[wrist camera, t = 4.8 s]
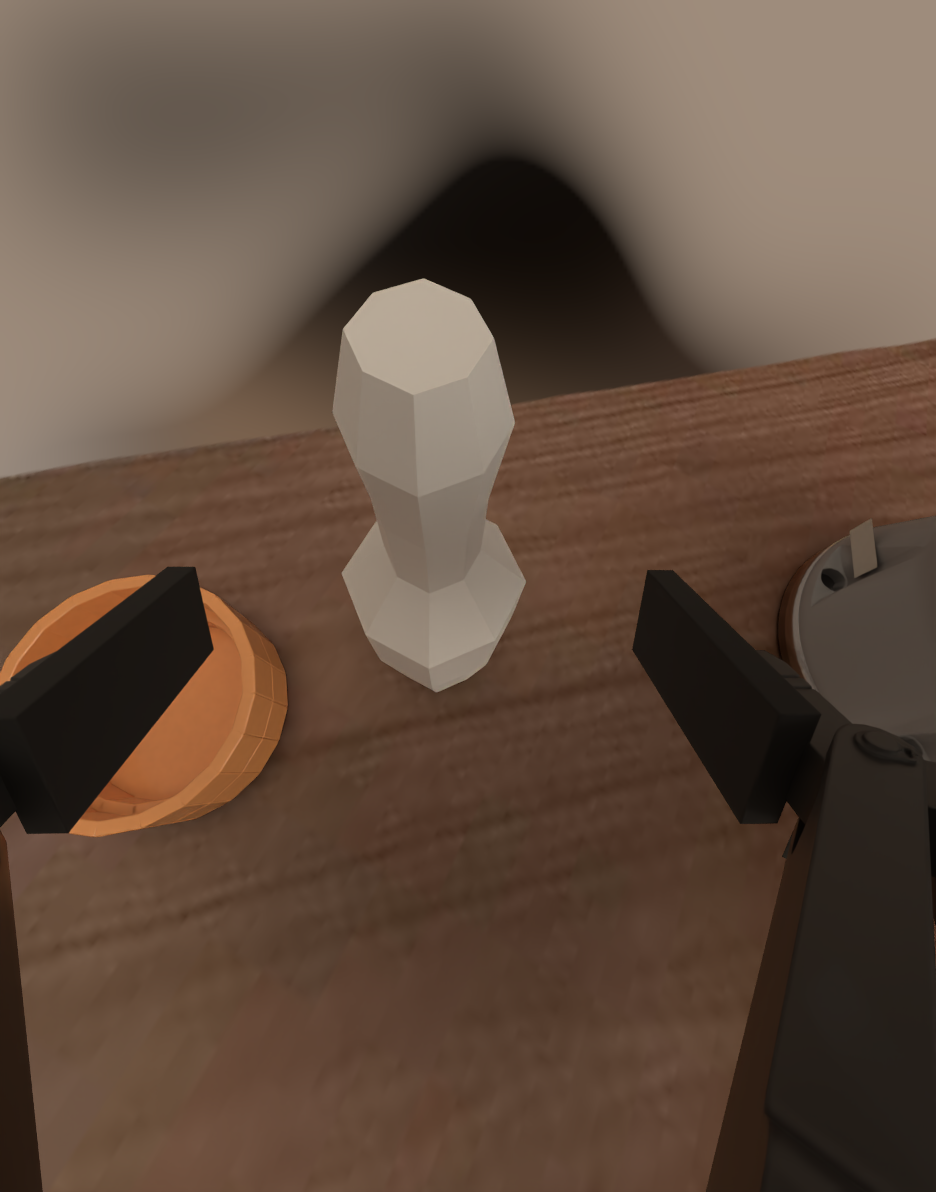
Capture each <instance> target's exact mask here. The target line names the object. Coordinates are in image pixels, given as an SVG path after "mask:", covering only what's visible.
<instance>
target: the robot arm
mask: <svg viewBox="0 0 936 1192" xmlns="http://www.w3.org/2000/svg"><path fill="white" fill-rule="evenodd" d="M778 635H779V646H780V653H781V657H782V660H781V659H779V658H777V657H775V656H774V655H772V654H770V653H768V652H766V651H765V650H755V649H754V648H753V647H752V646H751V645H750V644H748V643H747V642H746V641H745V640H744V639H743V638H742V637H741V636H740V635H739V634H738V633H737V632H736V631H735V630H734V629H733V628H732V627H731V626H730V625H729V624H728V623H727V622H726V621H725V620H724V619H723V618H722V617H721V616H720V615H718V614H717V613H716V612H715V611H714V610H713V609H712V608H711V607H710V606H709V605H708V604H707V603H706V602H705V601H704V600H703V599H702V598H701V597H700V596H699V595H698V594H697V593H696V592H695V591H694V590H693V589H692V588H691V587H690V586H688V585H687V584H686V583H685V582H684V581H683V580H682V579H681V578H680V577H679V576H678V575H677V574H676V573H675V572H674V571H673V570H647V575H646V580H645V586H644V591H643V596H642V601H641V607H640V612H639V617H638V623H637V628H636V633H635V638H634V644H633V649H632V650H633V652H634V653H635V655H636V657H637V658H638V660H639V661H640V663H641V665H642V666H643V668H644V669H645V671H646V673H647V674H648V676H649V677H650V679H651V681H652V682H653V684H654V686H655V687H656V689H657V690H658V692H659V694H660V695H661V697H662V698H663V700H664V702H665V703H666V705H667V707H668V708H669V710H670V711H671V713H672V715H673V716H674V718H675V719H676V721H677V723H678V724H679V726H680V727H681V729H682V731H683V732H684V734H685V736H686V737H687V739H688V740H689V742H690V744H691V745H692V747H693V748H694V750H695V752H696V753H697V755H698V756H699V758H700V760H701V761H702V763H703V765H704V766H705V768H706V769H707V771H708V773H709V774H710V776H711V777H712V779H713V781H714V782H715V784H716V786H717V787H718V789H719V790H720V792H721V794H722V795H723V797H724V798H725V800H726V802H727V803H728V805H729V806H730V808H731V810H732V811H733V813H734V815H735V816H736V818H737V819H738V821H739V823H740V824H767V823H778V820H779V818H780V816H781V813H782V811H783V808H784V806H785V803H786V801H787V802H788V803H789V805H790V806H791V807H792V808H793V810H794V811H795V812H796V814H797V815H798V816H799V818H798V821H797V823H796V825H795V828H794V830H793V832H792V835H791V837H790V839H789V842H788V844H787V846H786V849H785V851H784V853H783V856H782V857H784V858H786V863H785V867H784V871H783V875H782V879H781V884H780V888H779V892H778V896H777V900H776V904H775V908H774V912H773V917H772V921H771V925H770V929H769V933H768V937H767V941H766V945H765V950H764V954H763V958H762V962H761V966H760V970H759V974H758V978H757V983H756V987H755V991H754V995H753V999H752V1003H751V1007H750V1012H749V1016H748V1020H747V1024H746V1028H745V1032H744V1036H743V1040H742V1045H741V1049H740V1053H739V1057H738V1061H737V1065H736V1069H735V1073H734V1078H733V1082H732V1086H731V1090H730V1094H729V1098H728V1102H727V1106H726V1111H725V1115H724V1119H723V1123H722V1127H721V1131H720V1135H719V1139H718V1144H717V1148H716V1152H715V1156H714V1160H713V1164H712V1168H711V1173H710V1177H709V1181H708V1185H707V1189H706V1192H936V964H935V944H934V924H933V919H934V921H935V924H936V516H931V517H926V518H921V519H916V520H910V521H905V522H900V523H895V524H890V525H884V526H879V527H874V528H873V525H872V518H871V519H869V520H867V521H866V522H864V523H862V524H861V525H859V526H857V527H856V528H854V529H852V530H851V531H850V535H848V536H846V537H843V538H842V539H840V540H838V541H837V542H835V543H833V544H832V545H830V546H828V547H827V548H825V549H823V550H822V551H820V552H818V553H817V554H815V555H814V556H812V557H811V558H810V559H809V560H807V561H806V562H805V563H804V564H803V565H802V566H801V567H800V568H799V570H798V571H797V572H796V573H795V575H794V576H793V578H792V579H791V581H790V583H789V584H788V587H787V589H786V591H785V594H784V596H783V600H782V603H781V607H780V613H779V623H778ZM213 650H214V647H213V643H212V639H211V634H210V630H209V625H208V621H207V617H206V612H205V608H204V604H203V599H202V595H201V590H200V586H199V582H198V577H197V573H196V568H195V567H167V568H165V569H164V570H163V571H162V572H160V573H159V574H158V575H156V576H155V577H154V578H152V579H151V580H150V581H148V582H147V583H146V584H144V585H143V586H142V587H140V588H139V589H138V590H136V591H135V592H134V593H133V594H131V595H130V596H129V597H127V598H126V599H125V600H123V601H122V602H121V603H119V604H118V605H117V606H115V607H114V608H113V609H111V610H110V611H109V612H107V613H106V614H105V615H104V616H102V617H101V618H100V619H98V620H97V621H96V622H94V623H93V624H92V625H90V626H89V627H88V628H86V629H85V630H84V631H82V632H81V633H80V634H79V635H77V636H76V637H75V638H73V639H72V640H71V641H69V642H68V643H67V644H65V645H64V646H63V647H61V648H60V649H59V650H57V651H56V652H53V653H51V654H49V655H47V656H45V657H43V658H41V659H39V660H37V661H35V662H32V663H30V664H29V665H27V666H26V667H25V668H23V669H22V670H21V671H19V672H18V673H17V674H15V675H14V676H13V677H11V678H10V681H6V682H4V683H3V684H2V685H0V827H1V826H2V825H3V824H4V823H5V822H6V821H7V819H8V818H9V817H10V816H11V815H12V814H13V813H14V812H15V811H16V813H17V815H18V817H19V819H20V821H21V823H22V825H23V827H24V829H25V831H26V833H27V834H43V833H69V832H70V831H71V829H72V828H73V827H74V826H75V824H76V823H77V822H78V820H79V819H80V818H81V817H82V815H83V814H84V813H85V812H86V810H87V809H88V808H89V807H90V805H91V804H92V803H93V802H94V800H95V799H96V798H97V797H98V795H99V794H100V793H101V791H102V790H103V789H104V788H105V786H106V785H107V784H108V783H109V781H110V780H111V779H112V778H113V776H114V775H115V774H116V773H117V771H118V770H119V769H120V768H121V766H122V765H123V764H124V762H125V761H126V760H127V759H128V757H129V756H130V755H131V754H132V752H133V751H134V750H135V749H136V747H137V746H138V745H139V744H140V742H141V741H142V740H143V738H144V737H145V736H146V735H147V733H148V732H149V731H150V730H151V728H152V727H153V726H154V725H155V723H156V722H157V721H158V720H159V718H160V717H161V716H162V715H163V713H164V712H165V711H166V709H167V708H168V707H169V706H170V704H171V703H172V702H173V701H174V699H175V698H176V697H177V696H178V694H179V693H180V692H181V691H182V689H183V688H184V687H185V686H186V684H187V683H188V682H189V680H190V679H191V678H192V677H193V675H194V674H195V673H196V672H197V670H198V669H199V668H200V667H201V665H202V664H203V663H204V662H205V660H206V659H207V658H208V656H209V655H210V654H211V653H212V651H213ZM0 1192H43V1190H42V1180H41V1170H40V1161H39V1151H38V1142H37V1132H36V1122H35V1113H34V1103H33V1093H32V1084H31V1074H30V1064H29V1055H28V1045H27V1035H26V1026H25V1016H24V1007H23V997H22V987H21V978H20V968H19V958H18V949H17V939H16V929H15V920H14V910H13V900H12V891H11V881H10V871H9V862H8V852H7V843H6V840H5V838H4V836H3V835H2V833H1V831H0Z"/></svg>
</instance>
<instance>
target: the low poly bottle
mask: <svg viewBox="0 0 936 1192" xmlns="http://www.w3.org/2000/svg"><path fill="white" fill-rule="evenodd" d="M332 413H333V415H334V417H335V420H336V422H337V424H338V427H339V429H340V431H341V434H342V436H343V438H344V441H345V443H346V445H347V448H348V450H349V452H350V455H351V457H352V459H353V462H354V464H355V466H356V468H357V471H358V473H359V475H360V477H361V479H362V481H363V483H364V486H365V488H366V490H367V492H368V494H369V496H370V498H371V501H372V504H373V508H374V512H375V515H376V519H377V521H376V522H375V524H374V525H373V527H372V528H371V530H370V531H369V533H368V534H367V536H366V537H365V539H364V540H363V542H362V543H361V545H360V546H359V548H358V549H357V551H356V552H355V554H354V555H353V557H352V558H351V560H350V561H349V563H348V564H347V566H346V567H345V569H344V570H343V572H342V576H343V578H344V581H345V583H346V586H347V589H348V591H349V594H350V596H351V599H352V601H353V604H354V606H355V609H356V612H357V614H358V617H359V619H360V622H361V624H362V627H363V630H364V632H365V635H366V636H367V638H368V640H369V642H370V643H371V645H372V647H373V648H374V650H375V652H376V653H377V655H378V657H379V659H380V660H381V661H382V662H384V663H386V664H387V665H389V666H391V667H392V668H394V669H396V670H397V671H399V672H400V673H402V674H404V675H405V676H407V677H409V678H411V679H412V680H414V681H416V682H418V683H420V684H422V685H423V686H425V687H427V688H429V689H431V690H433V691H434V692H436V693H437V692H439V691H441V690H444V689H446V688H448V687H451V686H453V685H455V684H457V683H460V682H462V681H464V680H467V679H468V678H469V677H471V676H472V675H473V674H475V673H476V672H477V671H479V670H480V669H481V668H483V667H484V666H485V665H487V663H488V661H489V659H490V657H491V655H492V653H493V651H494V649H495V647H496V645H497V644H498V642H499V640H500V638H501V636H502V634H503V632H504V630H505V628H506V626H507V624H508V623H509V621H510V619H511V617H512V615H513V612H514V610H515V608H516V605H517V603H518V600H519V598H520V595H521V593H522V591H523V588H524V586H525V583H526V580H525V578H524V576H523V574H522V572H521V571H520V569H519V567H518V565H517V563H516V561H515V559H514V557H513V555H512V553H511V551H510V549H509V547H508V545H507V543H506V541H505V539H504V537H503V535H502V533H501V531H500V529H499V527H498V525H496V524H494V523H492V522H490V521H488V520H486V512H487V506H488V499H489V496H490V493H491V490H492V487H493V484H494V482H495V479H496V476H497V473H498V470H499V467H500V464H501V461H502V458H503V456H504V453H505V450H506V447H507V444H508V441H509V438H510V435H511V432H512V429H513V427H514V424H515V421H514V417H513V413H512V409H511V405H510V401H509V397H508V393H507V389H506V385H505V381H504V377H503V373H502V369H501V365H500V361H499V357H498V353H497V349H496V345H495V341H494V338H493V336H492V334H491V332H490V331H489V329H488V327H487V326H486V324H485V322H484V320H483V319H482V317H481V315H480V314H479V312H478V310H477V309H476V307H475V305H474V303H473V302H472V300H471V299H470V298H468V297H465V296H463V295H461V294H458V293H456V292H454V291H451V290H449V289H447V288H444V287H442V286H440V285H437V284H435V283H433V282H430V281H428V280H426V279H420V280H417V281H413V282H410V283H406V284H403V285H399V286H396V287H392V288H389V289H385V290H382V291H378V292H375V293H372V295H371V296H370V297H369V298H368V299H367V301H366V302H365V303H364V304H363V305H362V307H361V308H360V309H359V310H358V312H357V313H356V314H355V315H354V316H353V318H352V319H351V320H350V321H349V323H348V324H347V325H346V326H345V327H344V329H343V333H342V341H341V349H340V357H339V365H338V372H337V380H336V388H335V395H334V403H333V411H332Z"/></svg>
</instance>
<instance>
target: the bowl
mask: <svg viewBox="0 0 936 1192" xmlns="http://www.w3.org/2000/svg"><path fill="white" fill-rule="evenodd" d="M155 576H156V575H142V576H135V577H128V578H121V579H114V580H110V581H106V582H104V583H101V584H99V585H97V586H94V587H92V588H89V589H87V590H85V591H82V592H80V593H78V594H75V595H73V596H71V597H69V598H68V599H66V600H65V601H64V602H62V603H61V604H60V605H58V606H57V607H56V608H54V609H53V610H52V611H50V612H49V613H48V614H46V615H45V616H44V617H42V618H41V619H40V620H38V621H37V622H36V623H35V624H34V625H33V626H32V627H31V629H30V630H29V631H28V632H27V634H26V635H25V636H24V637H23V638H22V640H21V641H20V642H19V643H18V645H17V646H16V647H15V648H14V649H13V651H12V652H11V653H10V654H9V656H8V657H7V659H6V661H5V663H4V665H3V667H2V670H1V672H0V685H2V684H3V683H4V682H6V681H10V678H11V677H13V676H14V675H15V674H17V673H18V672H19V671H21V670H22V669H23V668H25V667H26V666H27V665H29V664H30V663H32V662H35V661H37V660H39V659H41V658H43V657H45V656H47V655H49V654H51V653H53V652H56V651H57V650H59V649H60V648H61V647H63V646H64V645H65V644H67V643H68V642H69V641H71V640H72V639H73V638H75V637H76V636H77V635H79V634H80V633H81V632H82V631H84V630H85V629H86V628H88V627H89V626H90V625H92V624H93V623H94V622H96V621H97V620H98V619H100V618H101V617H102V616H104V615H105V614H106V613H107V612H109V611H110V610H111V609H113V608H114V607H115V606H117V605H118V604H119V603H121V602H122V601H123V600H125V599H126V598H127V597H129V596H130V595H131V594H133V593H134V592H135V591H136V590H138V589H139V588H140V587H142V586H143V585H144V584H146V583H147V582H148V581H150V580H151V579H152V578H154V577H155ZM200 590H201V595H202V599H203V604H204V608H205V612H206V617H207V621H208V625H209V630H210V634H211V639H212V643H213V647H214V650H213V651H212V653H211V654H210V655H209V656H208V658H207V659H206V660H205V662H204V663H203V664H202V665H201V667H200V668H199V669H198V670H197V672H196V673H195V674H194V675H193V677H192V678H191V679H190V680H189V682H188V683H187V684H186V686H185V687H184V688H183V689H182V691H181V692H180V693H179V694H178V696H177V697H176V698H175V699H174V701H173V702H172V703H171V704H170V706H169V707H168V708H167V709H166V711H165V712H164V713H163V715H162V716H161V717H160V718H159V720H158V721H157V722H156V723H155V725H154V726H153V727H152V728H151V730H150V731H149V732H148V733H147V735H146V736H145V737H144V738H143V740H142V741H141V742H140V744H139V745H138V746H137V747H136V749H135V750H134V751H133V752H132V754H131V755H130V756H129V757H128V759H127V760H126V761H125V762H124V764H123V765H122V766H121V768H120V769H119V770H118V771H117V773H116V774H115V775H114V776H113V778H112V779H111V780H110V781H109V783H108V784H107V785H106V786H105V788H104V789H103V790H102V791H101V793H100V794H99V795H98V797H97V798H96V799H95V800H94V802H93V803H92V804H91V805H90V807H89V808H88V809H87V810H86V812H85V813H84V814H83V815H82V817H81V818H80V819H79V820H78V822H77V823H76V824H75V826H74V827H73V828H72V829H71V831H70V832H69V834H76V835H82V836H89V837H101V836H106V835H112V834H117V833H123V832H128V831H134V830H139V829H145V828H150V827H156V826H161V825H166V824H172V823H177V822H182V821H188V820H193V819H196V818H199V817H201V816H203V815H205V814H207V813H208V812H210V811H212V810H214V809H216V808H218V807H220V806H222V805H224V804H226V803H228V802H229V801H230V800H233V799H234V798H235V797H236V796H237V795H238V794H239V793H240V792H241V791H242V790H243V789H244V788H245V787H246V786H247V785H248V784H249V783H250V782H251V781H253V780H254V779H255V778H256V777H257V776H258V775H259V773H260V772H261V771H262V769H263V767H264V766H265V764H266V762H267V761H268V759H269V757H270V755H271V754H272V752H273V750H274V749H275V747H276V745H277V744H278V740H279V739H280V735H281V732H282V728H283V724H284V720H285V716H286V712H287V706H288V700H287V684H286V675H285V674H286V673H285V670H284V668H283V665H282V663H281V661H280V658H279V656H278V654H277V651H276V649H275V647H274V645H273V644H272V643H271V642H270V641H269V640H268V639H267V638H266V636H265V635H264V634H263V633H262V632H261V631H260V630H259V629H258V628H257V627H256V626H255V625H254V624H253V623H252V622H250V621H249V620H248V619H246V618H245V617H244V616H243V615H241V614H240V613H239V612H237V611H236V610H235V609H233V608H232V607H231V606H230V605H228V604H227V603H226V602H224V601H223V600H222V599H220V598H219V597H218V596H217V595H215V594H213V593H211V592H209V591H207V590H205V589H203V588H201V587H200Z"/></svg>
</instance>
